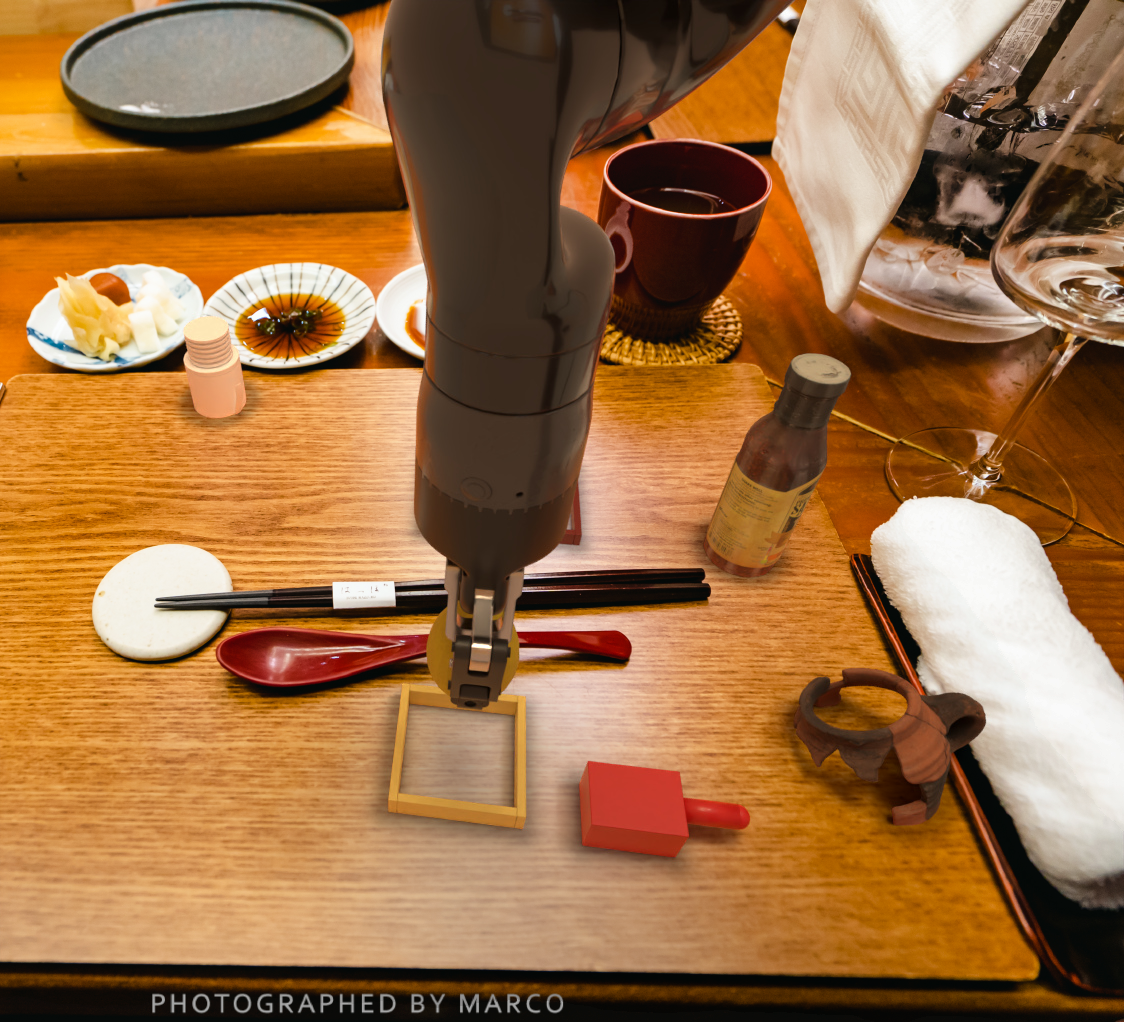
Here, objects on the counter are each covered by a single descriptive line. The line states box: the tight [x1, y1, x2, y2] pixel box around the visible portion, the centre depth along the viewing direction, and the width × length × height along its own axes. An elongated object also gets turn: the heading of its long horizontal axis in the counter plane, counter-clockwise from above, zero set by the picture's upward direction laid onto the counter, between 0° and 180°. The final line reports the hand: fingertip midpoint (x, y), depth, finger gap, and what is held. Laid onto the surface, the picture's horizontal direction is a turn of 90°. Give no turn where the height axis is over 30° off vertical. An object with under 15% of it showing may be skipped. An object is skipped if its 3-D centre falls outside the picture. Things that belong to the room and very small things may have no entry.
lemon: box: [425, 600, 520, 696], centre depth 48 cm, size 6×6×8 cm
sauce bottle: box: [703, 353, 852, 578], centre depth 64 cm, size 6×6×20 cm
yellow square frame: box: [387, 682, 527, 830], centre depth 57 cm, size 9×9×2 cm
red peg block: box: [578, 760, 751, 858], centre depth 53 cm, size 10×4×4 cm, turn 82°
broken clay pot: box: [793, 667, 987, 826], centre depth 55 cm, size 12×10×8 cm
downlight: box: [182, 315, 247, 419], centre depth 85 cm, size 8×7×10 cm
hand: (471, 655), depth 48 cm, fingers closed on lemon, 5 cm apart
